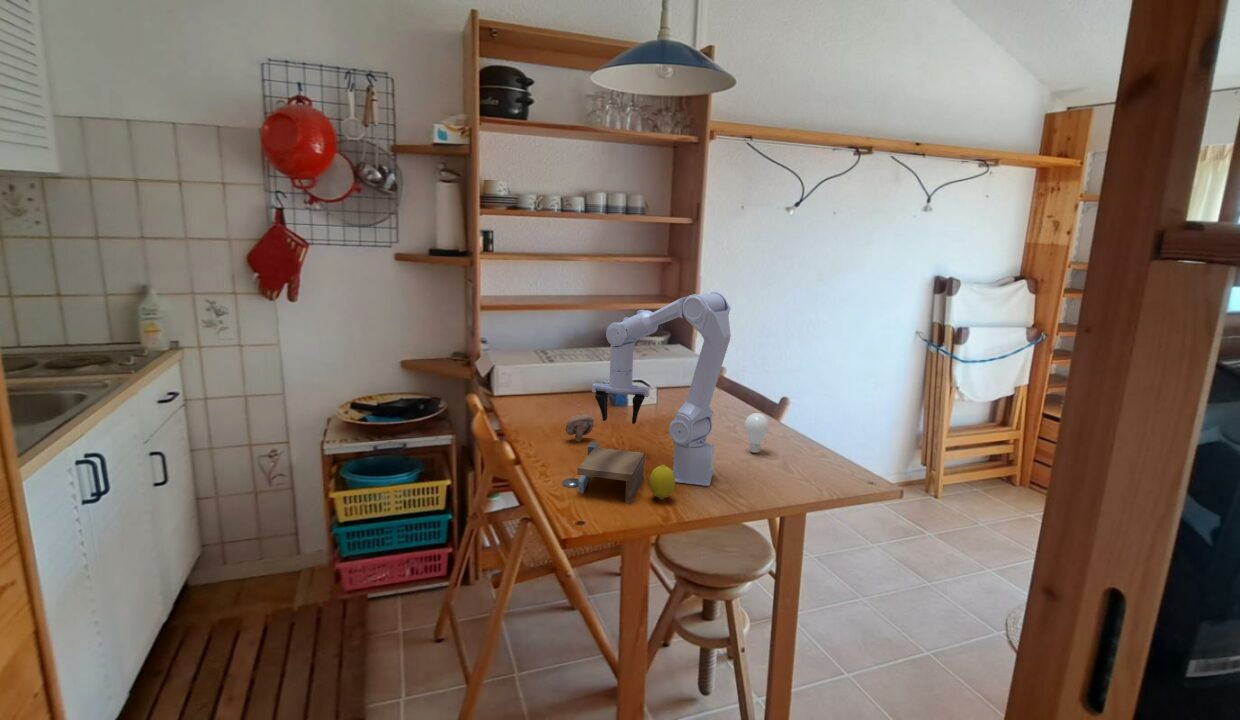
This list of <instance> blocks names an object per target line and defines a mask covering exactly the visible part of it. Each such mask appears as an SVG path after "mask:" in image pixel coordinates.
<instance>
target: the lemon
mask: <svg viewBox="0 0 1240 720" xmlns="http://www.w3.org/2000/svg"><path fill="white" fill-rule="evenodd" d="M649 477H650V478H649V488H650V489H649V490H651V491H650V492H651V493H652V494H653V496H655V497H656V498H659V499H660V500H661V501H662V500H664V499H665V498H666V499H667V498H668V497H670V496H671V495H672V494H673V492H674V491H675V487H676V482H675V476H674V473H673V469H671V468H670V467H669V466H666V465H665V464H661V465H659V466H657V467H655V468H654V469H653V470H652V472H651V474H650V476H649Z"/></svg>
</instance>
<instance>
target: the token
mask: <svg viewBox="0 0 1240 720" xmlns="http://www.w3.org/2000/svg"><path fill="white" fill-rule="evenodd" d="M579 480H580V478H574V477H572V478H571V477H570V478H565V479H563V480H562V486H563V487H566V488H569V489H572V488H573V489H575V488H578V482H579Z"/></svg>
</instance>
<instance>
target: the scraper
mask: <svg viewBox="0 0 1240 720" xmlns="http://www.w3.org/2000/svg"><path fill="white" fill-rule="evenodd" d="M595 447H596V448H599V441H590V442H589V444H588V446H587V456H588V455H589V454H590V453H591V451H592V450H593V449H594V448H595ZM590 477H591V476H584V475H580V478H579V482H578V487H577V488H578V489H577V494H578V493H579V494H584V493H585V491H586V488H587V485H588V483H589V480H590Z"/></svg>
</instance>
